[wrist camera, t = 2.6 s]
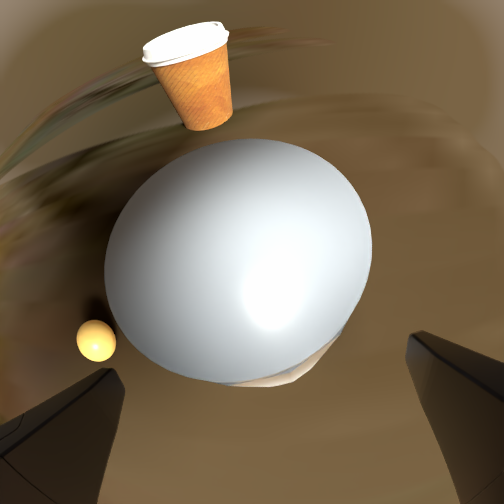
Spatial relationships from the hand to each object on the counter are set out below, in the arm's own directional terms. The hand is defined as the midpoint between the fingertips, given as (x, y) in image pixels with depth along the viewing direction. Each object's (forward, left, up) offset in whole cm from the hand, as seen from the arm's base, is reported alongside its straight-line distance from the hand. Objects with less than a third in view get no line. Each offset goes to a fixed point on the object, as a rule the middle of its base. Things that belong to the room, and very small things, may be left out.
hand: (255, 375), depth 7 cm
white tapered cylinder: (+2, +2, -10) cm, 11 cm away
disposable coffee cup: (+20, +22, -10) cm, 32 cm away
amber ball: (-6, +12, -10) cm, 17 cm away
